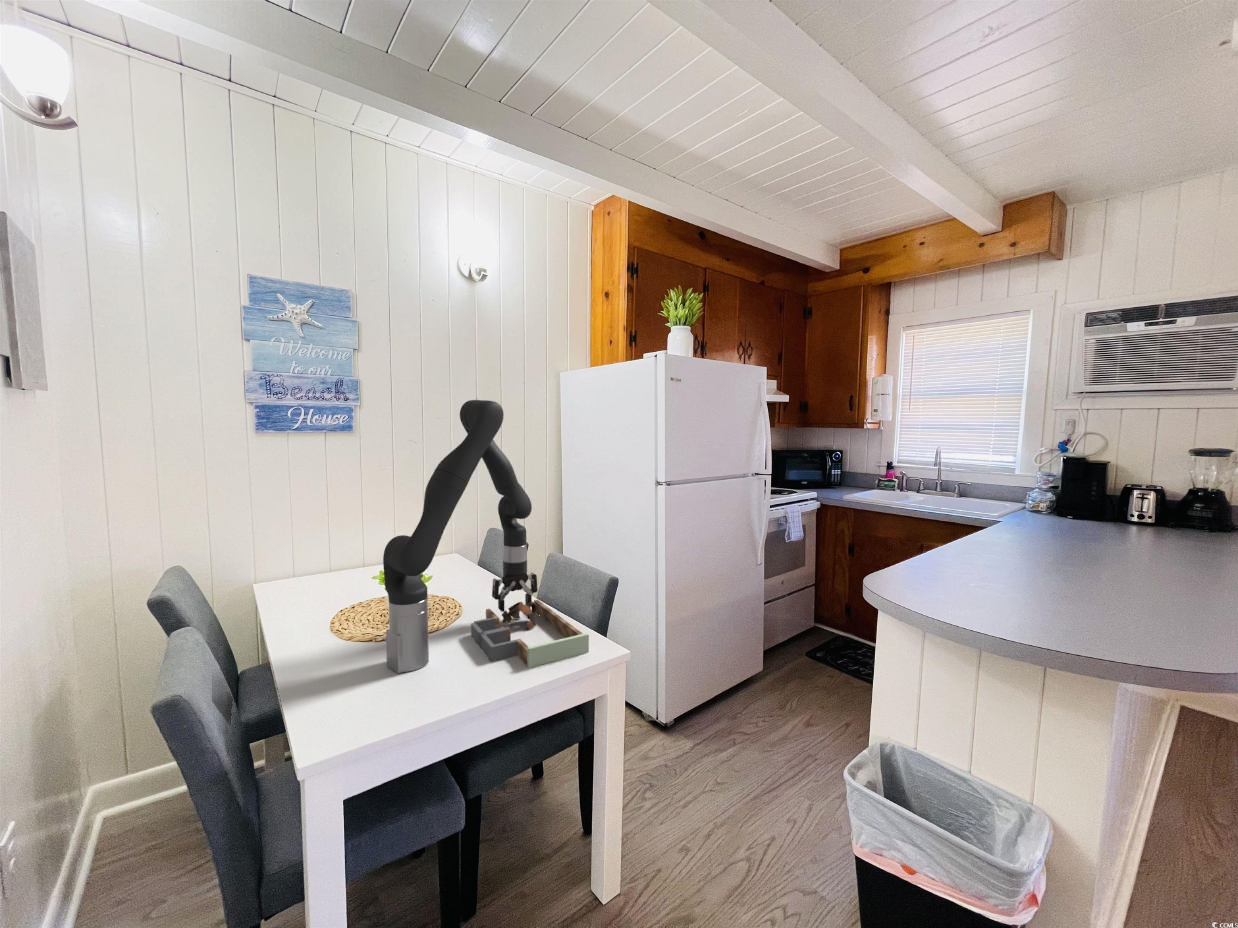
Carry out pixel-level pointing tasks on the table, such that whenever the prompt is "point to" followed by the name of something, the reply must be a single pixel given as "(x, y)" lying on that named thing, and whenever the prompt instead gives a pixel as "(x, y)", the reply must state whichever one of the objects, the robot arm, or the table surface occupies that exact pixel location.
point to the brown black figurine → (524, 609)
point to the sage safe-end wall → (557, 650)
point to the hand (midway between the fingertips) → (515, 608)
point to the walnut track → (548, 616)
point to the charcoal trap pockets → (493, 640)
